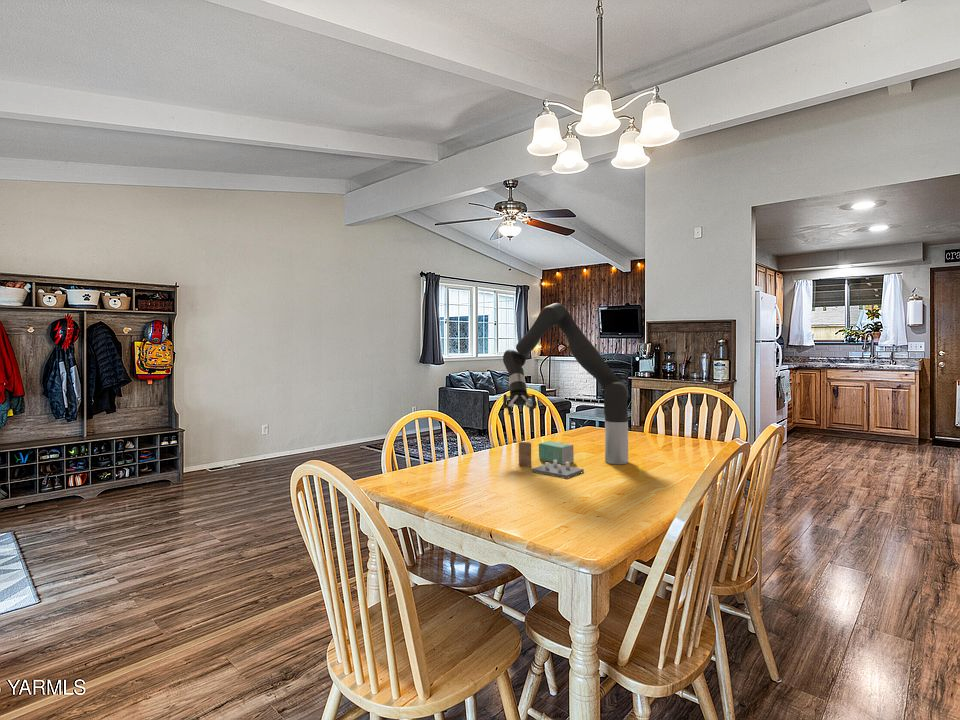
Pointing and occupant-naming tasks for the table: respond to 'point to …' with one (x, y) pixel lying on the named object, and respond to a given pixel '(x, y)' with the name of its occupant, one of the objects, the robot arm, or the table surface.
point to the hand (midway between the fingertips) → (521, 415)
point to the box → (556, 452)
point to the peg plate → (557, 469)
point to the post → (524, 453)
